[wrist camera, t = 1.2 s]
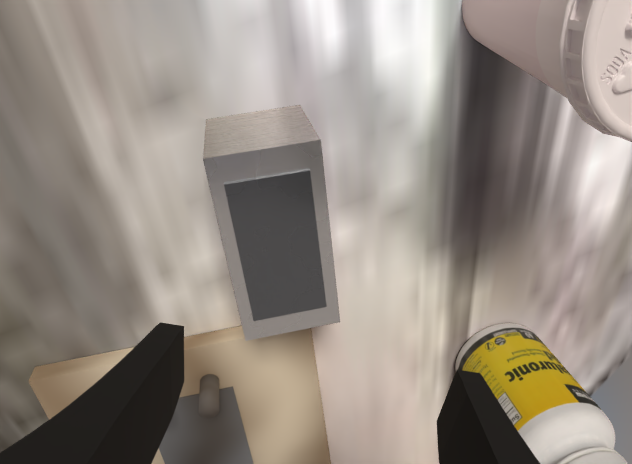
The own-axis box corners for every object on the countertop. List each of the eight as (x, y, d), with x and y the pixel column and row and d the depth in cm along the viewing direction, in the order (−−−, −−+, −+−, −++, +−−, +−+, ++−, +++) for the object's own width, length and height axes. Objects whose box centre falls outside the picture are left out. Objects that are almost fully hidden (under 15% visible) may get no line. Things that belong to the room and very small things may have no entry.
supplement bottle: (549, 322, 30) (682, 463, 21) (514, 388, 32) (620, 540, 24) (471, 315, 28) (580, 463, 20) (440, 385, 31) (525, 544, 22)
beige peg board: (123, 535, 32) (115, 585, 30) (35, 366, 25) (13, 413, 22) (333, 486, 34) (342, 529, 31) (307, 312, 26) (317, 350, 24)
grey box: (240, 274, 25) (245, 342, 20) (206, 118, 21) (202, 159, 16) (319, 260, 25) (340, 323, 21) (299, 104, 21) (321, 140, 17)
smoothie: (547, 84, 23) (935, 220, 10) (416, 73, 21) (683, 215, 9) (599, -81, 20) (1221, -160, 7) (450, -104, 18) (908, -247, 6)
